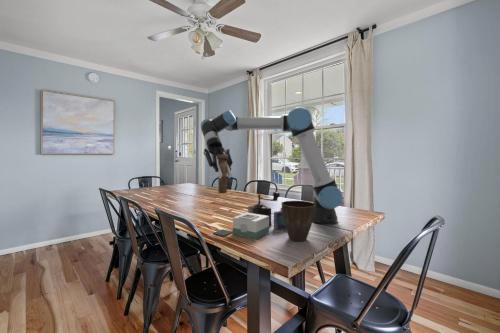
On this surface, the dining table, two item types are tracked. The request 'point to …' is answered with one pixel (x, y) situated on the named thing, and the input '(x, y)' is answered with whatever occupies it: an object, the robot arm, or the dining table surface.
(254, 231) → the tissue box
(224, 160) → the brown knobbed cylinder
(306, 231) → the plant pot
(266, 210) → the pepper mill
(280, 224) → the flask
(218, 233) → the mat
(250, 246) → the dining table surface
